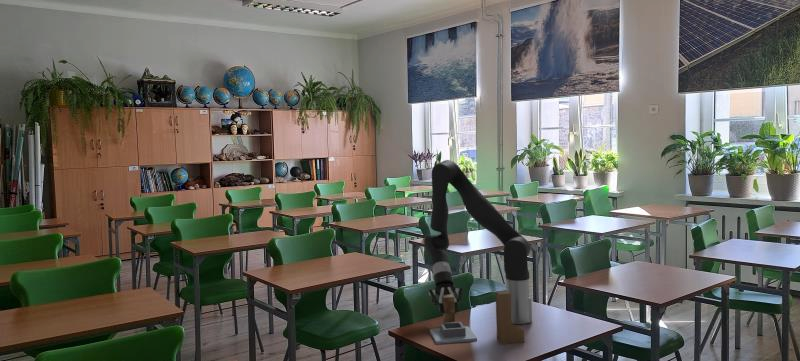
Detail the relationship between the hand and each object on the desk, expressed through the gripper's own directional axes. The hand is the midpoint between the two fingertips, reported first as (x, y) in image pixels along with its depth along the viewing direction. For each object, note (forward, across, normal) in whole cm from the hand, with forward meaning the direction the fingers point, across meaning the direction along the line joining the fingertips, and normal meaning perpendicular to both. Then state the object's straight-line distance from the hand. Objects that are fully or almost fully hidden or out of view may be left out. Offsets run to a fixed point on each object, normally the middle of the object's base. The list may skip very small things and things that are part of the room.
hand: (449, 312), depth 230 cm
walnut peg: (+3, 0, +5) cm, 6 cm away
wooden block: (+19, +18, -11) cm, 28 cm away
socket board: (+12, -1, -4) cm, 12 cm away
